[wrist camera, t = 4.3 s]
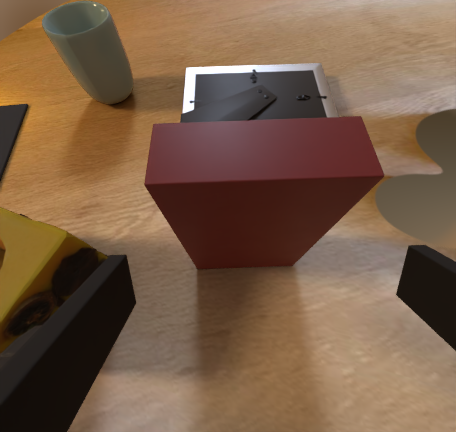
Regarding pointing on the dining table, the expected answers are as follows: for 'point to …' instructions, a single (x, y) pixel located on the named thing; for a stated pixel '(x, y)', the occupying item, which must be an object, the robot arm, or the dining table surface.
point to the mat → (9, 130)
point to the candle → (38, 272)
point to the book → (258, 185)
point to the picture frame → (256, 93)
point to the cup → (91, 49)
